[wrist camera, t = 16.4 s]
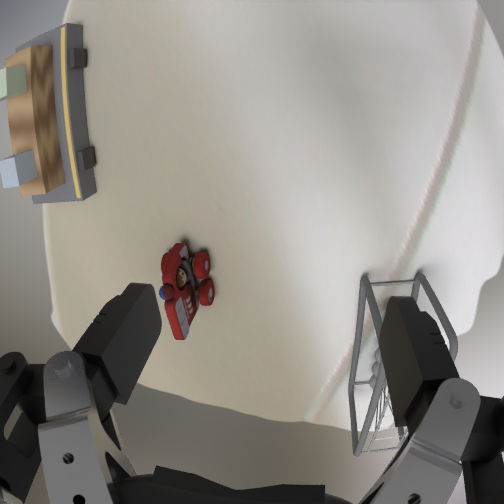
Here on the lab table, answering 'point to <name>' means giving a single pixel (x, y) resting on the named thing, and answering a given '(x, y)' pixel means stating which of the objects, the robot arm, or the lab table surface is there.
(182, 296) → the toy fire truck
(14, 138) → the tan wooden bar
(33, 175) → the block
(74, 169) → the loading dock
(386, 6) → the lab table surface
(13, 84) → the block
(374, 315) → the newton's cradle
